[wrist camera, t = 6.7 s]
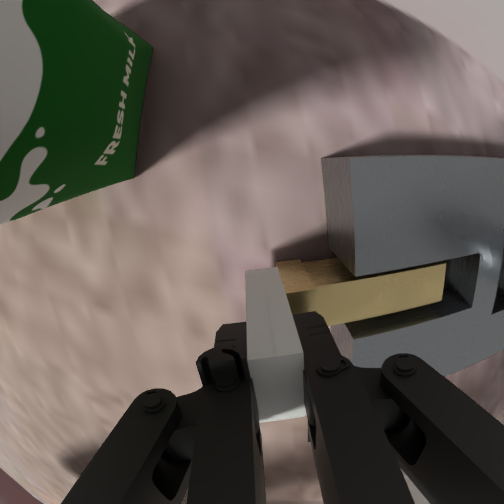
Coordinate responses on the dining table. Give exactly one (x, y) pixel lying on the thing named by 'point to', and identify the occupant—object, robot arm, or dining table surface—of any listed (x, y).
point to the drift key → (358, 289)
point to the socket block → (421, 252)
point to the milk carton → (66, 102)
